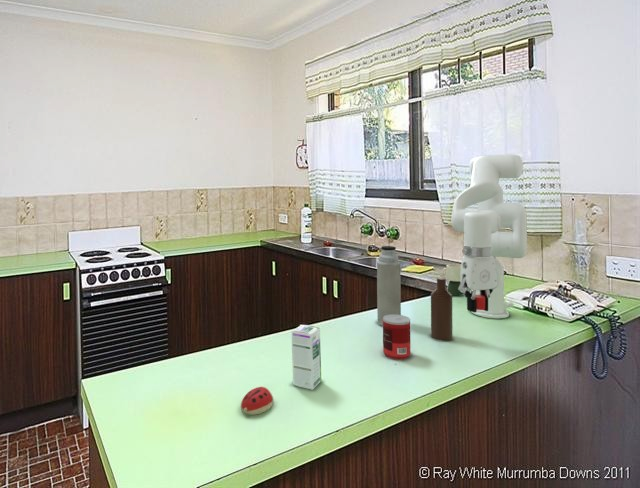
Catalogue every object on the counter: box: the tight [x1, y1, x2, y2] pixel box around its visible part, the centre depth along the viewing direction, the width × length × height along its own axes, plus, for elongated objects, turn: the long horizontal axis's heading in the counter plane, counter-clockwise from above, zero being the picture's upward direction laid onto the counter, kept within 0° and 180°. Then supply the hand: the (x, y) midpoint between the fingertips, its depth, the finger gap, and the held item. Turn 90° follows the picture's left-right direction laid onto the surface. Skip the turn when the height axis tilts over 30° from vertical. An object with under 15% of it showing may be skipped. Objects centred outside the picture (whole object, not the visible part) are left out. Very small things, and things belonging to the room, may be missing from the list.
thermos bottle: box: [376, 245, 402, 327], centre depth 159 cm, size 8×8×28 cm
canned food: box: [382, 314, 411, 360], centre depth 132 cm, size 8×8×11 cm
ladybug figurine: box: [240, 386, 274, 416], centre depth 104 cm, size 7×10×4 cm
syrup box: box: [291, 324, 322, 391], centre depth 115 cm, size 6×6×14 cm
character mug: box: [442, 263, 464, 296], centre depth 193 cm, size 11×7×13 cm, turn 37°
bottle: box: [430, 277, 453, 342], centre depth 145 cm, size 6×6×20 cm
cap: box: [475, 294, 485, 310], centre depth 137 cm, size 4×4×4 cm
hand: (477, 309), depth 137 cm, fingers closed on cap, 3 cm apart
